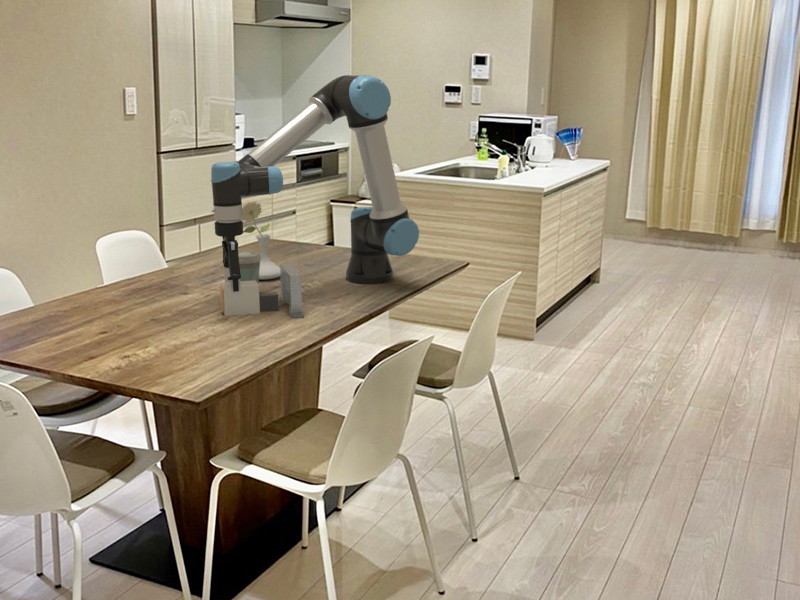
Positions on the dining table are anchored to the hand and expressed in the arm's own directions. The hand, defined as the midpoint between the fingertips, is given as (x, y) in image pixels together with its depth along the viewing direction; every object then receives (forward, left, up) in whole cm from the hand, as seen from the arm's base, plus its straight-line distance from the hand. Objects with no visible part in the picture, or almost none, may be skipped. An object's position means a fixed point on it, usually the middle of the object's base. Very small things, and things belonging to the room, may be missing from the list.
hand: (233, 296), depth 245 cm
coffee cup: (-7, -20, -5) cm, 22 cm away
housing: (-16, 0, -4) cm, 17 cm away
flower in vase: (-14, -38, -5) cm, 41 cm away
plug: (-4, 0, -5) cm, 6 cm away
